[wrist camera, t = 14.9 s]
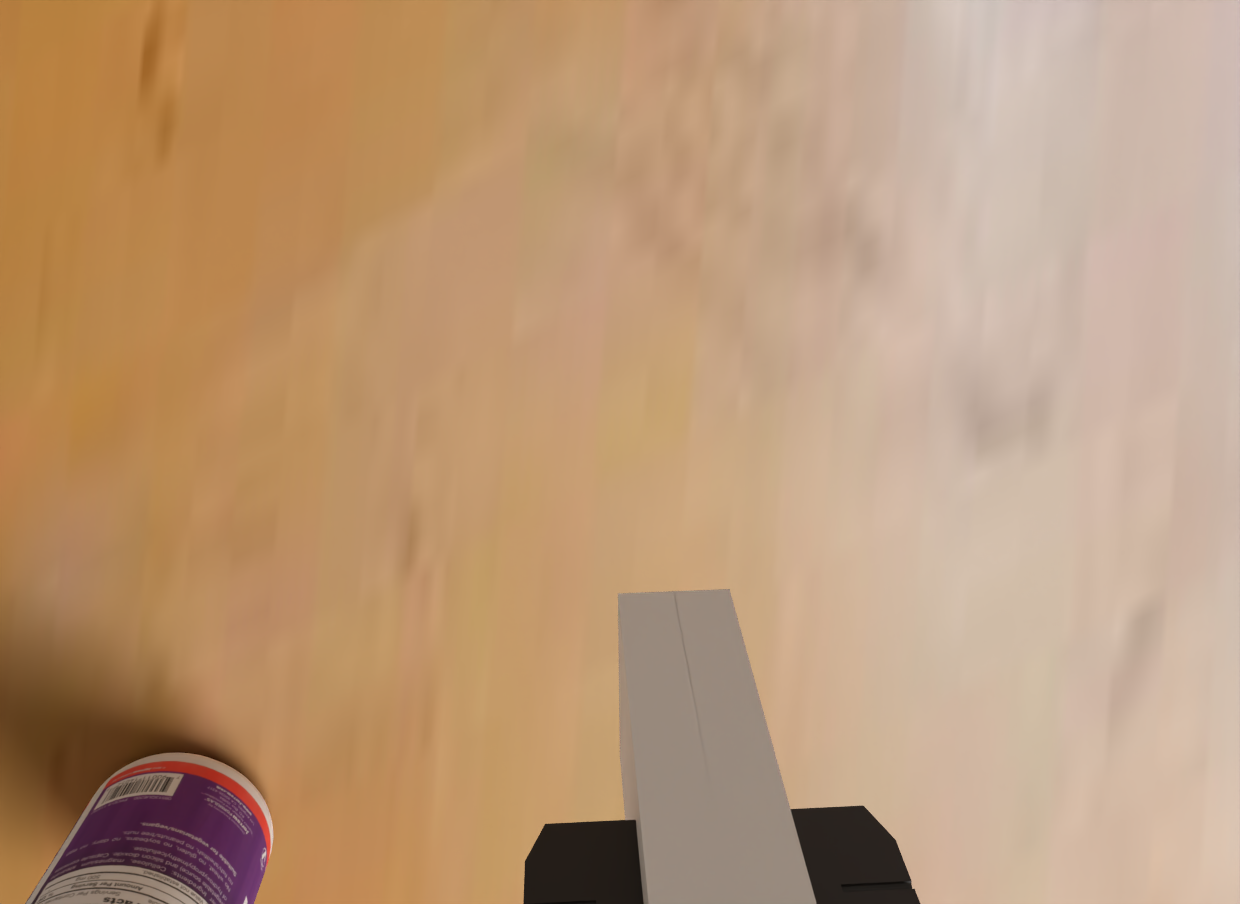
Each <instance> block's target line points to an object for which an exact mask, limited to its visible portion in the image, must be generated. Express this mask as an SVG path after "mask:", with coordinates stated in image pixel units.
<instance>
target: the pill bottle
mask: <svg viewBox="0 0 1240 904" xmlns="http://www.w3.org/2000/svg"><path fill="white" fill-rule="evenodd" d="M272 844H273V825H272V819H271V815H270V812H269V809H268V807H267V805H266V802H265V800H264V799H263V797H262V795H261V794H260V792H259V791H258V790H257V789H256V787H255V786H254V785H253V784H252V783H251V782H250V781H249V780H248V779H247V778H246V777H245V776H244V775H242V774H241V773H239V772H238V771H236V770H235V769H233V768H232V767H230V766H228V765H226V764H224V763H222V762H219V761H217V760H214V759H212V758H209V757H205V756H202V755H197V754H190V753H162V754H157V755H152V756H148V757H145V758H142V759H139V760H137V761H134V762H132V763H130V764H128V765H126V766H125V767H123V768H121V769H120V770H118V771H117V772H115V773H114V774H113V775H112V776H110V777H109V778H108V779H107V780H106V781H105V782H104V783H103V784H102V785H101V786H100V788H99V789H98V790H97V792H96V793H95V794H94V796H93V797H92V799H91V800H90V802H89V803H88V805H87V806H86V808H85V809H84V811H83V813H82V814H81V816H80V818H79V819H78V821H77V822H76V824H75V826H74V827H73V829H72V831H71V832H70V834H69V835H68V837H67V839H66V840H65V842H64V843H63V845H62V847H61V848H60V850H59V851H58V853H57V855H56V856H55V858H54V859H53V861H52V862H51V864H50V866H49V867H48V869H47V870H46V872H45V873H44V875H43V877H42V878H41V880H40V881H39V883H38V884H37V886H36V888H35V889H34V891H33V892H32V894H31V895H30V897H29V899H28V900H27V902H26V903H25V904H254V901H255V898H256V895H257V893H258V890H259V887H260V884H261V881H262V878H263V875H264V873H265V870H266V867H267V864H268V860H269V857H270V854H271V850H272Z"/></svg>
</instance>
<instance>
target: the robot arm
mask: <svg viewBox="0 0 1240 904" xmlns="http://www.w3.org/2000/svg"><path fill="white" fill-rule="evenodd" d="M618 637H619V717H620V761H621V773H622V785H623V797H624V810H625V820H618V821H597V822H576V823H556V824H545V825H544V827H543V829H542V831H541V833H540V835H539V837H538V838H537V840H536V842H535V844H534V846H533V848H532V850H531V851H530V853H529V855H528V857H527V859H526V861H525V879H524V904H920V902H919V899H918V897H917V894H916V892H915V889H912V885H911V879H910V876H909V874H908V871H907V868H906V866H905V863H904V861H903V858H902V856H901V853H900V850H899V848H898V845H897V843H896V840H895V839H894V838H893V837H892V836H891V835H890V834H889V833H888V831H887V830H886V829H885V828H884V827H883V826H882V825H881V824H880V823H879V822H878V821H877V820H876V819H875V818H874V817H873V815H872V814H871V813H870V812H869V811H868V810H867V809H866V808H865V807H864V806H848V807H827V808H807V809H790V806H789V802H788V799H787V795H786V792H785V788H784V784H783V781H782V777H781V774H780V770H779V766H778V763H777V759H776V756H775V752H774V748H773V745H772V741H771V737H770V734H769V730H768V727H767V723H766V719H765V716H764V712H763V709H762V705H761V701H760V698H759V694H758V691H757V687H756V683H755V680H754V676H753V673H752V669H751V665H750V662H749V658H748V655H747V651H746V647H745V644H744V640H743V637H742V633H741V629H740V626H739V622H738V618H737V615H736V611H735V608H734V604H733V600H732V597H731V593H730V590H729V589H723V590H697V591H671V592H645V593H619V594H618Z"/></svg>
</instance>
